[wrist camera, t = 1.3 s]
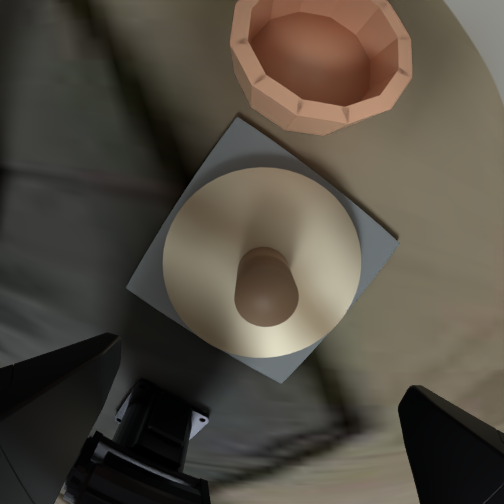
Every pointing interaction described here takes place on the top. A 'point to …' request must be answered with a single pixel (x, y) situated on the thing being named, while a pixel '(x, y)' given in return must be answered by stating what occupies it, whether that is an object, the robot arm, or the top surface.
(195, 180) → the mat
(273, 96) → the bowl
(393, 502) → the top surface
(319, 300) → the lid
